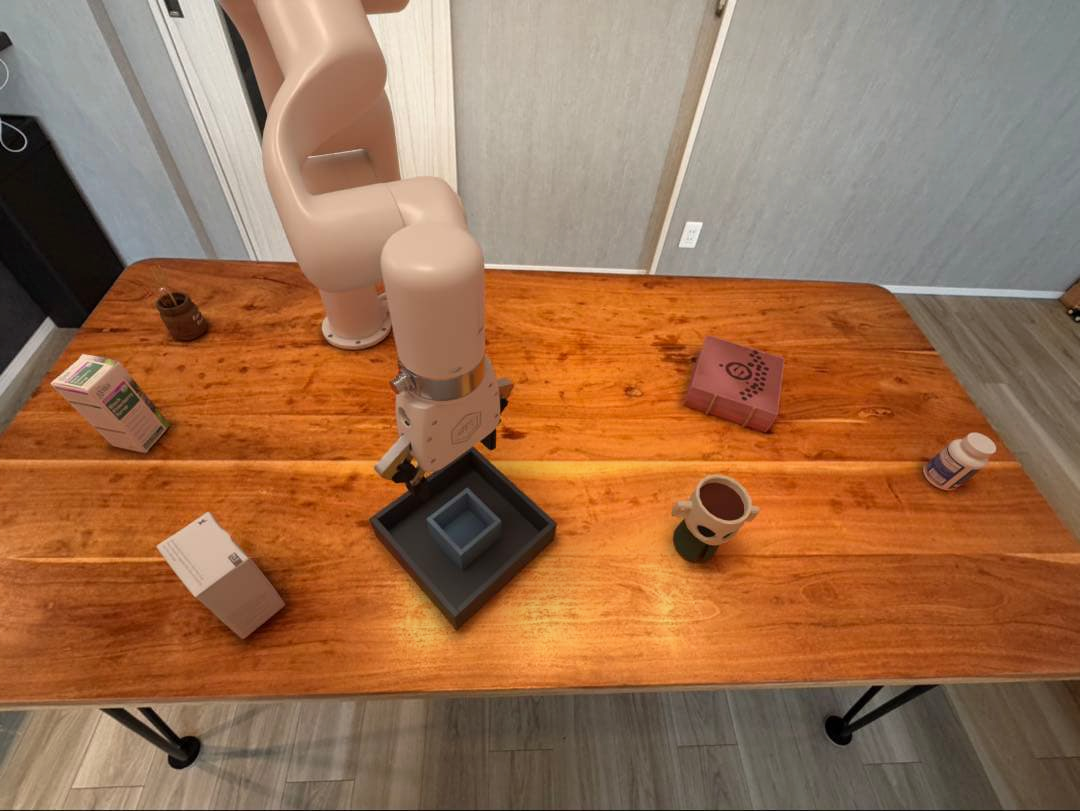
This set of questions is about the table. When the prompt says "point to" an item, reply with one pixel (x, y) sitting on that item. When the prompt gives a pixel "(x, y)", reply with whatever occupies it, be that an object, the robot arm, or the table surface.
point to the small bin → (464, 528)
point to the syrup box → (112, 402)
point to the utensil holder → (179, 312)
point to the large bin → (491, 571)
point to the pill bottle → (959, 461)
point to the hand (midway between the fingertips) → (453, 465)
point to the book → (736, 383)
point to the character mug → (711, 516)
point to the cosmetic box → (221, 575)
